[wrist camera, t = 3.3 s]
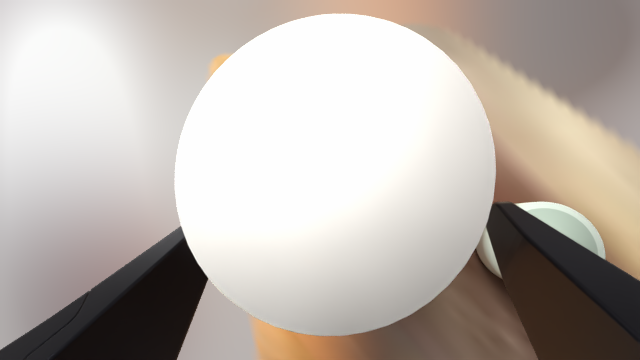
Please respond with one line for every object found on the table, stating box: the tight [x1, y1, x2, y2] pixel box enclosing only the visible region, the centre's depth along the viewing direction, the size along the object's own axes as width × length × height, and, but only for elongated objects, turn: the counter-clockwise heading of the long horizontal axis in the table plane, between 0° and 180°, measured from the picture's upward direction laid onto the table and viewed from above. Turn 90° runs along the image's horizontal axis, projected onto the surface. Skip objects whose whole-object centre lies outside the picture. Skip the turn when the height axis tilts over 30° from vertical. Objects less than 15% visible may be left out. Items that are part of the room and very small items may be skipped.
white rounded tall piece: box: [175, 14, 496, 336], centre depth 11 cm, size 7×7×12 cm
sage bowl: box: [476, 202, 605, 278], centre depth 13 cm, size 4×4×3 cm
